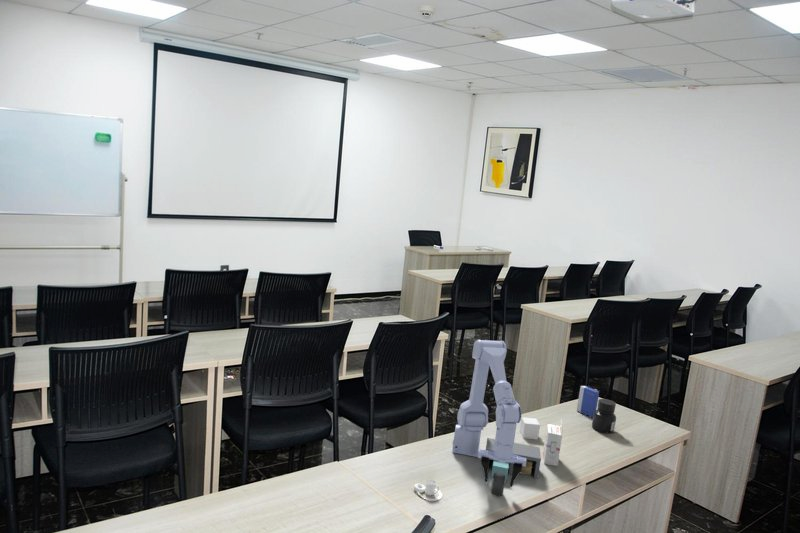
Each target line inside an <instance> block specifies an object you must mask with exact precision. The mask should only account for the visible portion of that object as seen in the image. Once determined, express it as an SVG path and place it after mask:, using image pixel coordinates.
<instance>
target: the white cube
mask: <svg viewBox="0 0 800 533" xmlns="http://www.w3.org/2000/svg"><path fill="white" fill-rule="evenodd" d="M540 428H541V424H540V422H539V420H538V419H537V418H534V417H525V416H524V417H522V416H521V421H520V423H519V434H520V436H521V437H522V438H523V439H533V440H538V439H539V436H540V435H539V434H540Z"/></svg>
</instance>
